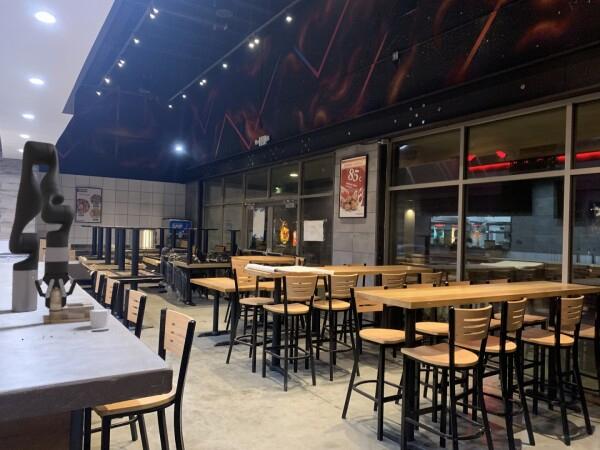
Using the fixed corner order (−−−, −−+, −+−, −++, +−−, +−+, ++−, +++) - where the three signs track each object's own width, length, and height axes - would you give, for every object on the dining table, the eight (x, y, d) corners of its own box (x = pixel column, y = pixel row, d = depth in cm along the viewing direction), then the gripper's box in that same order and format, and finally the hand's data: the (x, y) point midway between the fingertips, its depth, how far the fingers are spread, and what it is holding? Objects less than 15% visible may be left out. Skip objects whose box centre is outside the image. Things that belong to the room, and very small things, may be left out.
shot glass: (114, 328, 152) (115, 308, 152) (103, 333, 145) (104, 312, 145) (96, 327, 152) (96, 308, 152) (84, 332, 146) (85, 311, 146)
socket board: (43, 319, 165) (43, 305, 165) (91, 315, 174) (92, 301, 174) (44, 329, 148) (44, 313, 148) (97, 324, 157) (98, 309, 157)
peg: (48, 321, 154) (49, 288, 155) (61, 320, 157) (62, 287, 157) (48, 323, 151) (49, 289, 151) (62, 322, 153) (63, 289, 153)
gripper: (78, 258, 161) (77, 304, 161) (33, 259, 154) (32, 307, 153) (79, 260, 155) (78, 307, 154) (33, 261, 147) (32, 311, 147)
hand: (55, 307), depth 154 cm, fingers closed on peg, 4 cm apart
